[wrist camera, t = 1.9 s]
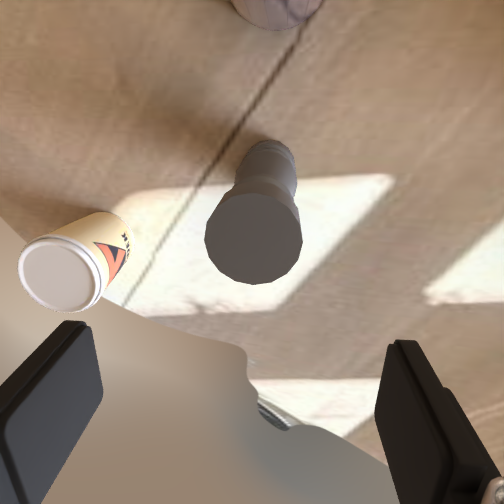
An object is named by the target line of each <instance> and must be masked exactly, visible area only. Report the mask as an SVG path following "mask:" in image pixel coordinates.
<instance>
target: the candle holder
mask: <svg viewBox="0 0 504 504" xmlns="http://www.w3.org/2000/svg"><path fill="white" fill-rule="evenodd" d="M234 184H235V185H234V186H233V188H232V189H231V190H229V191H228V192H226V193H225V195H224V196H223V198H222V199H221V201H220V202H219V204H218V205H217V207H216V209H215V210H214V212H213V213H212V215H211V216H210V218H209V220H208V221H207V224H206V231H205V238H204V241H205V245H206V249H207V252H208V256H209V258H210V259H211V261H212V262H213V263H214V265H215V266H216V267H217V269H218V270H219V271H220V272H221V273H223V274H225V275H226V276H228V277H229V278H231V279H233V280H234V281H237V282H242V283H247V284H251V285H256V284H263V283H270V282H273V281H275V280H276V279H278V278H280V277H282V276H284V275H285V274H287V273H288V272H289V270H290V269H291V268H292V267H293V265H294V264H295V263H296V262H297V260H298V258H299V254H300V251H301V247H302V243H303V241H302V233H301V225H300V219H299V213H298V208H297V206H296V205H295V203H294V199H293V197H294V196H295V192H296V188H297V178H296V170H295V163H294V157H293V155H292V153H291V152H290V150H289V149H288V147H286V146H285V145H283V144H282V143H281V142H278V141H273V140H267V141H262V142H259V143H257V144H256V145H255V146H253V147H252V148H251V149H250V151H249V152H248V154H247V155H246V157H245V158H244V160H243V162H242V163H241V165H240V166H239V168H238V169H237V171H236V177H235V182H234Z"/></svg>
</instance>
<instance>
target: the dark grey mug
mask: <svg viewBox="0 0 504 504" xmlns="http://www.w3.org/2000/svg"><path fill="white" fill-rule="evenodd" d="M230 1H231V3H232V4H233V6H234V7H235V9H236V10H237V11H238V13H239V14H240V15H241V16H242V17H243V18H244V19H245V20H247V21H248V22H250V23H251V24H253V25H255V26H257V27H259V28H262V29H266V30H274V31H279V30H286V29H289V28H292V27H294V26H297V25H299V24H300V23H302V22H304V21H305V20H306V19H308V18H309V17H310V16H311V15H312V14H313V13H314V12H315V11H316V10H317V9H318V7H319V6H320V4H321V3H322V1H323V0H230Z"/></svg>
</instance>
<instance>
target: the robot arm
mask: <svg viewBox="0 0 504 504" xmlns="http://www.w3.org/2000/svg"><path fill="white" fill-rule="evenodd" d="M102 397H103V386H102V381H101V376H100V371H99V365H98V360H97V355H96V350H95V345H94V340H93V334H92V330H91V328H90V327H89V326H87V325H86V323H85V322H83V321H70V320H66V321H63V322H62V323H61V324H60V325H59V326H58V327H57V328H56V329H55V330H54V331H53V332H52V334H50V335H49V337H48V338H47V339H46V340H45V341H44V342H43V343H42V344H41V345H40V346H39V347H38V348H37V349H36V350H35V351H34V352H33V353H32V354H31V355H30V356H29V357H28V358H27V359H26V360H25V361H24V362H23V363H22V364H21V365H20V366H19V367H18V368H17V369H16V370H15V371H14V372H13V373H12V374H11V375H10V376H9V377H8V379H6V381H5V382H4V383H3V384H2V385H1V386H0V504H41V502H42V501H43V499H44V497H45V496H46V494H47V492H48V490H49V489H50V487H51V485H52V484H53V482H54V480H55V479H56V477H57V475H58V473H59V472H60V470H61V468H62V467H63V465H64V463H65V462H66V460H67V458H68V457H69V455H70V453H71V452H72V450H73V448H74V446H75V445H76V443H77V441H78V440H79V438H80V436H81V435H82V433H83V431H84V430H85V428H86V426H87V424H88V423H89V421H90V419H91V418H92V416H93V414H94V412H95V411H96V409H97V408H98V406H99V404H100V402H101V400H102ZM374 414H375V421H376V425H377V428H378V432H379V435H380V438H381V442H382V445H383V448H384V452H385V455H386V459H387V462H388V465H389V469H390V472H391V475H392V479H393V482H394V485H395V489H396V492H397V495H398V499H399V502H400V504H504V477H502V476H501V474H500V472H499V471H498V469H497V467H496V466H495V464H494V462H493V461H492V459H491V457H490V455H489V454H488V452H487V450H486V449H485V447H484V445H483V444H482V442H481V440H480V439H479V437H478V435H477V433H476V432H475V430H474V428H473V427H472V425H471V423H470V422H469V420H468V418H467V417H466V415H465V413H464V411H463V410H462V408H461V406H460V405H459V403H458V401H457V400H456V398H455V396H454V395H453V393H452V392H451V391H450V390H449V389H448V388H445V387H443V386H442V384H441V382H440V381H439V379H438V377H437V375H436V374H435V372H434V370H433V368H432V367H431V365H430V363H429V361H428V360H427V358H426V356H425V354H424V353H423V351H422V349H421V347H420V346H419V344H418V342H417V341H415V340H395V342H394V344H389V345H388V348H387V352H386V357H385V362H384V367H383V372H382V376H381V381H380V386H379V391H378V395H377V400H376V405H375V412H374Z"/></svg>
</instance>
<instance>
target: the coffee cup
mask: <svg viewBox="0 0 504 504" xmlns="http://www.w3.org/2000/svg"><path fill="white" fill-rule="evenodd" d="M133 249H134V236H133V233H132V231H131V229H130V227H129V226H128V224H127V223H126V222H125V221H124V220H122V219H121V218H120V217H118V216H116V215H114V214H111V213H107V212H97V213H93V214H90V215H88V216H86V217H83V218H81V219H79V220H76V221H74V222H72V223H70V224H67V225H65V226H63V227H61V228H59V229H56V230H54V231H52V232H50V233H48V234H46V235H42V236H39V237H37V238H34V239H33V240H31V241H30V242H29V243H27V244H26V245H25V247H24V248H23V250H22V251H21V254H20V256H19V259H18V265H17V271H18V276H19V279H20V282H21V284H22V286H23V287H24V289H25V291H26V292H27V293H28V294H29V295H30V296H31V297H32V298H33V299H34V300H35V301H36V302H37V303H39V304H41V305H42V306H44V307H46V308H48V309H50V310H53V311H56V312H62V313H73V312H78V311H82V310H85V309H87V308H89V307H91V306H92V305H93V304H95V303H96V302H97V301H98V299H99V298H100V296H101V294H102V292H103V291H104V290H105V289H106V287H107V286H108V285H109V284H110V282H111V281H112V280H113V278H114V277H115V276H116V274H117V273H118V272H119V270H120V269H121V268H122V266H123V265H124V264H125V263H126V261H127V260H128V258H129V257H130V255H131V254H132V252H133Z"/></svg>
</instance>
